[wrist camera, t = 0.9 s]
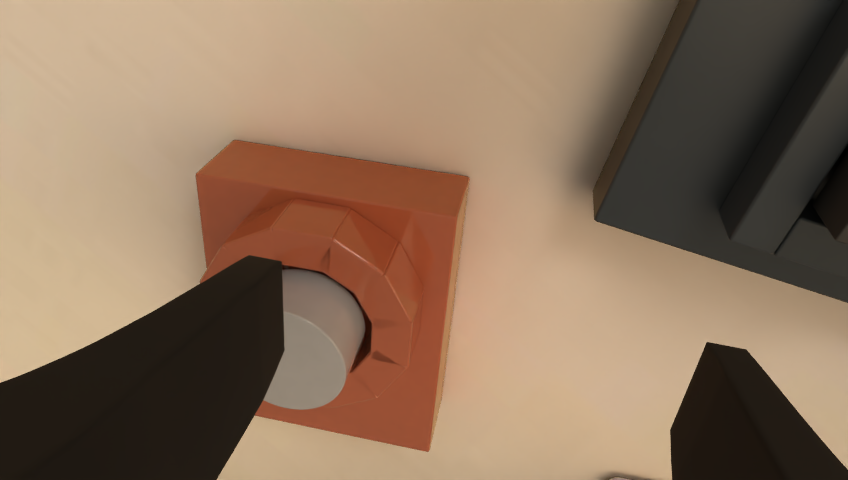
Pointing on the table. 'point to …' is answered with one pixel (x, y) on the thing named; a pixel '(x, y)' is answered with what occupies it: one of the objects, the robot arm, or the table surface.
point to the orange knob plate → (351, 269)
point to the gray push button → (315, 340)
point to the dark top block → (835, 203)
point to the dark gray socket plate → (739, 139)
